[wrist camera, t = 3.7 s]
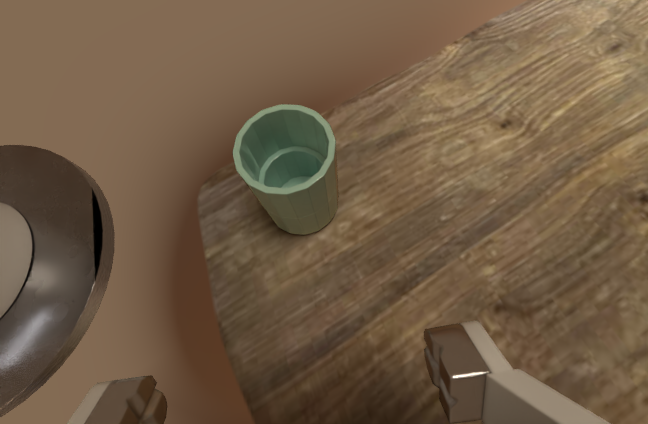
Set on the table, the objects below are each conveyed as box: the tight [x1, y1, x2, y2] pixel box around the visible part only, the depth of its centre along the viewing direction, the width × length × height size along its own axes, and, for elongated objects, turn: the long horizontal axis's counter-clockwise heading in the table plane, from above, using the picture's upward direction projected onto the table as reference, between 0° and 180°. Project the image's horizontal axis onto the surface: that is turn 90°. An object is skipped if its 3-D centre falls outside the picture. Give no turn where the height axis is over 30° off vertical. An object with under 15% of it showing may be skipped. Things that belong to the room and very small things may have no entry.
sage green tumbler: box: [233, 104, 339, 235], centre depth 22 cm, size 6×6×9 cm
